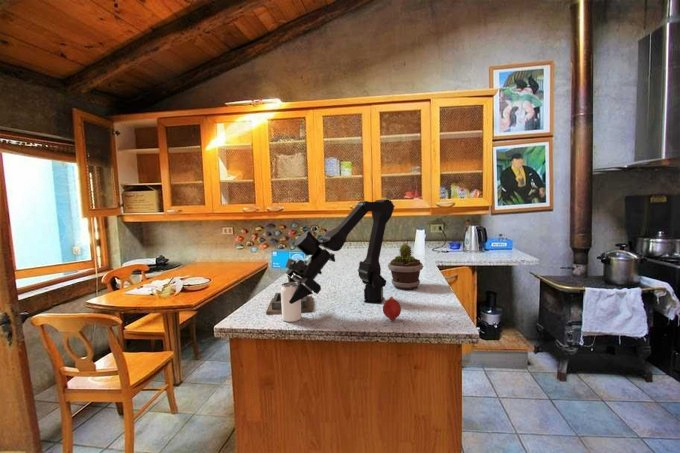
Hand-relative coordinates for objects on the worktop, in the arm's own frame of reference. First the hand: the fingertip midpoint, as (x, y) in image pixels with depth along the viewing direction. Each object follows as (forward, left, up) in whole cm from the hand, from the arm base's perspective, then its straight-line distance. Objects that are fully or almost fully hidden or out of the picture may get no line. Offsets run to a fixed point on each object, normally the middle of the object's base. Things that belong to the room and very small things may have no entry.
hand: (286, 300), depth 110 cm
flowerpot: (-31, -49, -7) cm, 58 cm away
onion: (-34, -9, -7) cm, 35 cm away
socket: (+6, -13, -7) cm, 16 cm away
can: (-1, -1, -7) cm, 7 cm away
